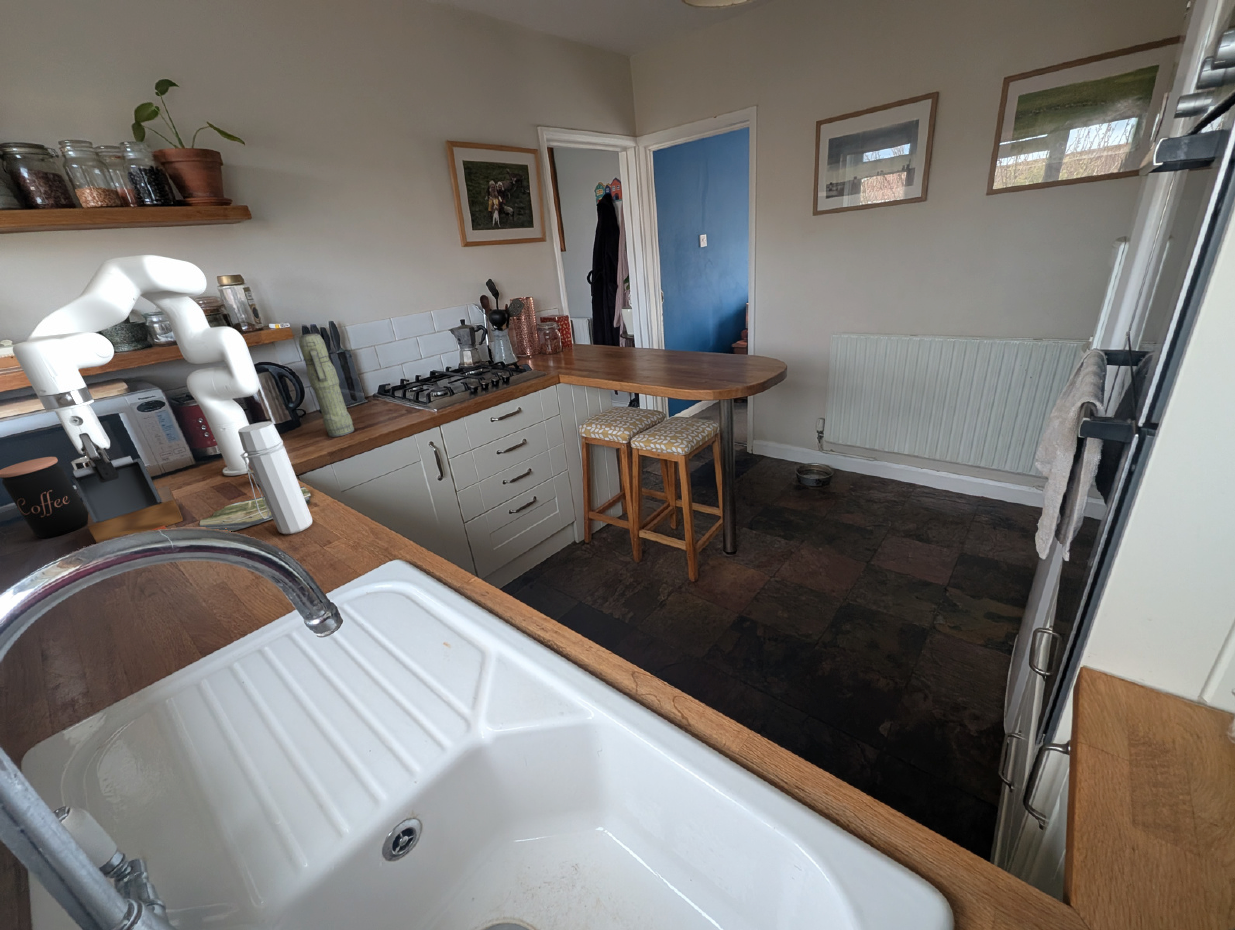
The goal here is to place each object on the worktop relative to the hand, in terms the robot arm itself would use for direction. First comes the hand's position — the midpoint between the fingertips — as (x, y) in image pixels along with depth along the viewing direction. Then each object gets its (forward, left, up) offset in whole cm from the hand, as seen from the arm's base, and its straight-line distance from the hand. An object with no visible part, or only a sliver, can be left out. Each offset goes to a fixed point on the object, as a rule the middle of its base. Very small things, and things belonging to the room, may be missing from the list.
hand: (109, 478), depth 117 cm
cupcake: (-30, -15, -17) cm, 37 cm away
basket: (0, -8, -5) cm, 9 cm away
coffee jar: (+15, -30, -17) cm, 38 cm away
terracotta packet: (-3, 0, -15) cm, 15 cm away
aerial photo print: (-22, +7, -17) cm, 29 cm away
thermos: (-58, -44, -17) cm, 75 cm away
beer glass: (+5, -35, -17) cm, 39 cm away
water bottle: (-26, +26, -17) cm, 40 cm away
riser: (0, -13, -17) cm, 21 cm away
